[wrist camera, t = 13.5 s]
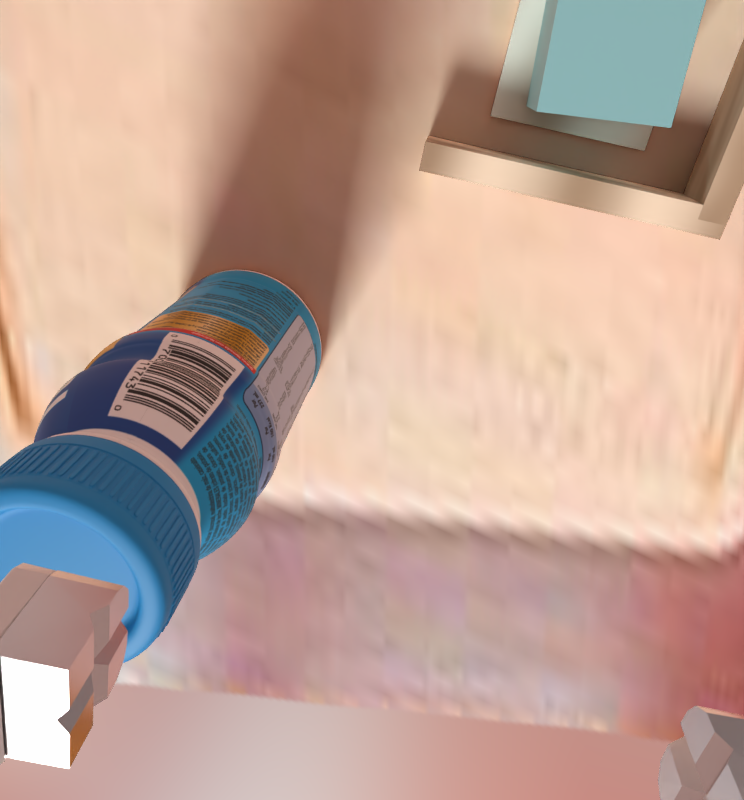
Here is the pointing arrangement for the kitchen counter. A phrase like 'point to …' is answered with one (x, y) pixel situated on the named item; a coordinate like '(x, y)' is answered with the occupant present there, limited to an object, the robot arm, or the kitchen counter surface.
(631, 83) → the teal block
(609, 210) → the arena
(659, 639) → the kitchen counter surface
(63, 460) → the beverage bottle
